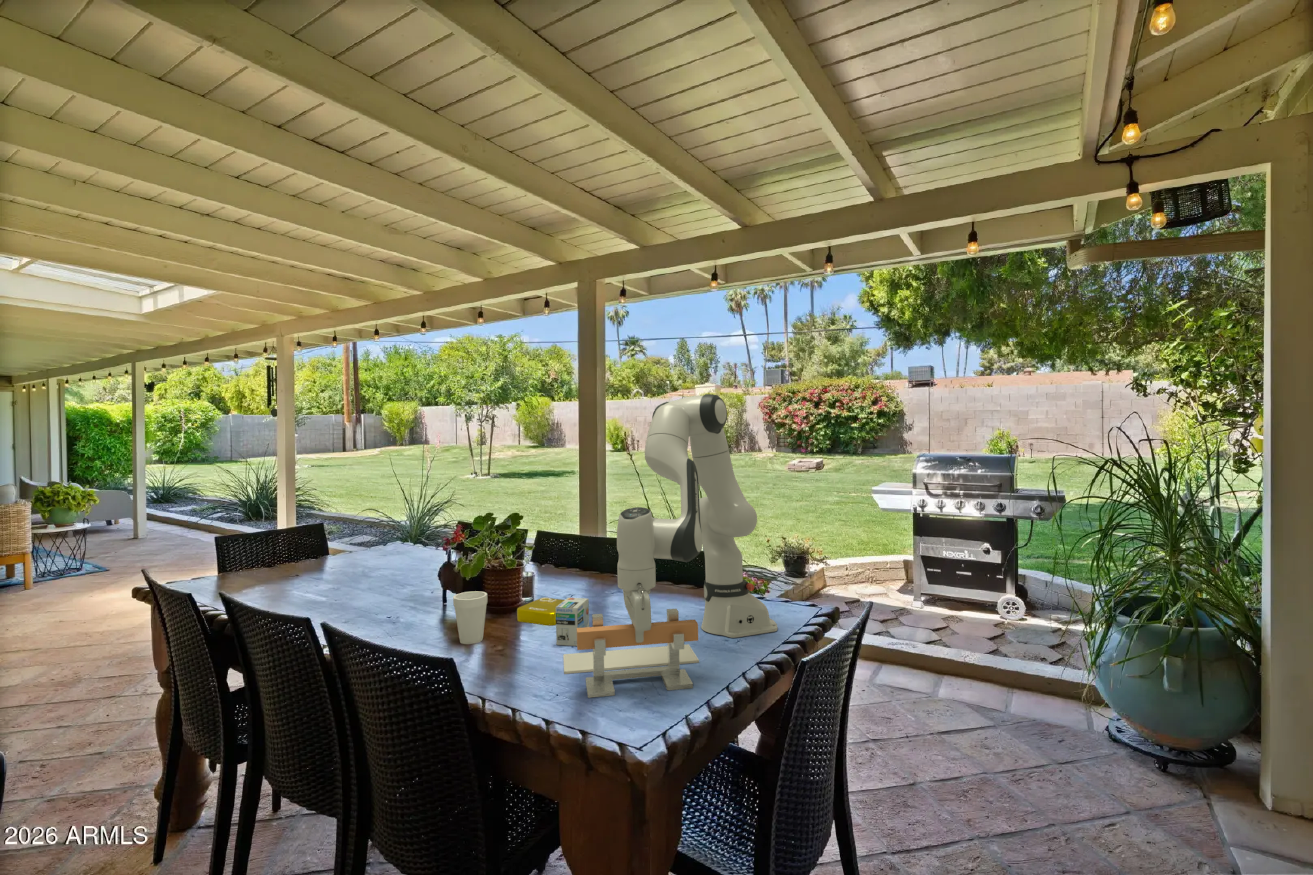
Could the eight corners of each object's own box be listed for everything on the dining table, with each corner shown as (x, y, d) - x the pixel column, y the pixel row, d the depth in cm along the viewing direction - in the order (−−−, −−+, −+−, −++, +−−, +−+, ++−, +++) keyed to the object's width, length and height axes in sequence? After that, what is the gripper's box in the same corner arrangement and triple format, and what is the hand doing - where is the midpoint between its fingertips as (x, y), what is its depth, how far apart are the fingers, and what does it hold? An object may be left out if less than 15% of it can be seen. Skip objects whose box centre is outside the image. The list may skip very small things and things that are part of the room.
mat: (688, 646, 167) (688, 644, 167) (699, 662, 155) (699, 660, 155) (563, 656, 161) (563, 654, 161) (564, 674, 150) (564, 671, 150)
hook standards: (684, 673, 149) (683, 607, 148) (693, 688, 140) (691, 618, 140) (585, 681, 145) (584, 614, 144) (587, 697, 136) (586, 626, 136)
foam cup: (494, 639, 176) (493, 594, 176) (465, 648, 169) (464, 601, 169) (477, 633, 182) (476, 589, 182) (448, 641, 176) (447, 596, 176)
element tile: (514, 622, 194) (514, 607, 193) (542, 609, 207) (542, 595, 207) (554, 627, 187) (553, 612, 187) (580, 614, 201) (579, 599, 201)
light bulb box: (578, 646, 169) (577, 608, 169) (555, 645, 170) (554, 607, 170) (590, 634, 179) (589, 597, 179) (568, 633, 181) (567, 596, 181)
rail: (695, 636, 145) (694, 619, 145) (698, 640, 142) (698, 623, 142) (576, 645, 141) (576, 628, 141) (577, 650, 138) (577, 632, 138)
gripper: (657, 589, 132) (658, 652, 132) (643, 568, 152) (644, 624, 152) (628, 590, 131) (629, 655, 131) (618, 570, 151) (619, 625, 151)
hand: (637, 638), depth 141 cm, fingers closed on rail, 3 cm apart
